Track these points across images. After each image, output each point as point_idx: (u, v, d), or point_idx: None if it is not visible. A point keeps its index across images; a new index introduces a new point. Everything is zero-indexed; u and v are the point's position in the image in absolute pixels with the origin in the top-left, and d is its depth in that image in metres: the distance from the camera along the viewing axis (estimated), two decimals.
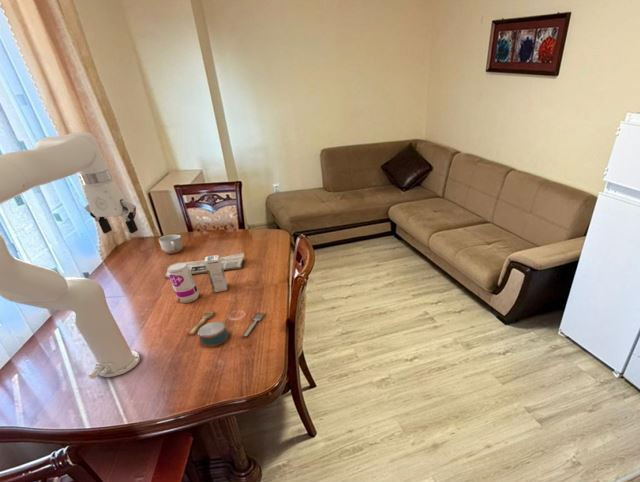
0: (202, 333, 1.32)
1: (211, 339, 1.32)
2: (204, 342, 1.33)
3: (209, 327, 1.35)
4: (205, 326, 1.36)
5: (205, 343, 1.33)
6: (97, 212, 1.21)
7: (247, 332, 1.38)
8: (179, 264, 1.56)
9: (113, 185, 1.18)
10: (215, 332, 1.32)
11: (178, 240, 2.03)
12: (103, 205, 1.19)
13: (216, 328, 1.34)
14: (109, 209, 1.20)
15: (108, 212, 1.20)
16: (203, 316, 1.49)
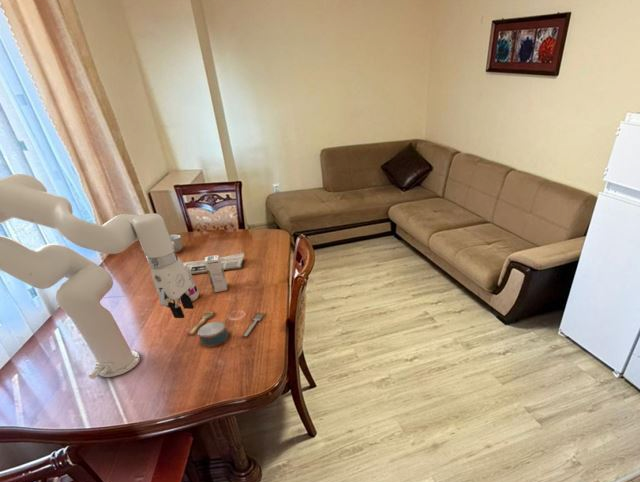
0: (202, 333, 1.32)
1: (211, 339, 1.32)
2: (204, 342, 1.33)
3: (209, 327, 1.35)
4: (205, 326, 1.36)
5: (205, 343, 1.33)
6: (178, 293, 1.12)
7: (247, 332, 1.38)
8: None
9: None
10: (215, 332, 1.32)
11: (178, 240, 2.03)
12: (181, 281, 1.14)
13: (216, 328, 1.34)
14: (186, 282, 1.16)
15: (186, 286, 1.16)
16: (203, 316, 1.49)
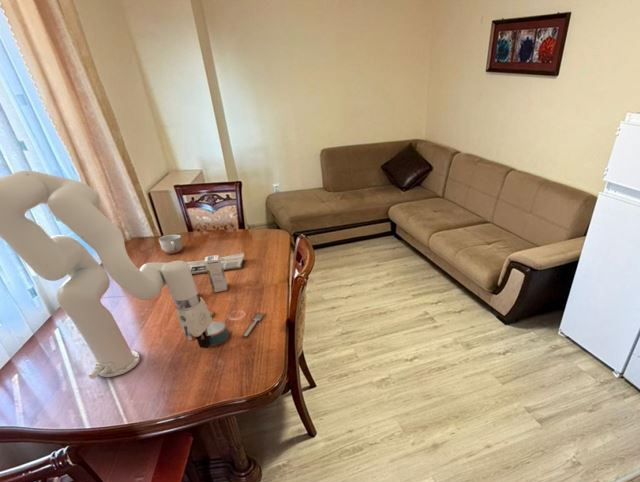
0: None
1: (211, 338, 1.32)
2: None
3: (210, 326, 1.35)
4: None
5: None
6: (200, 330, 1.24)
7: (247, 332, 1.38)
8: None
9: None
10: (216, 332, 1.32)
11: (178, 240, 2.03)
12: (204, 319, 1.25)
13: (217, 328, 1.34)
14: (207, 319, 1.27)
15: (207, 323, 1.27)
16: None
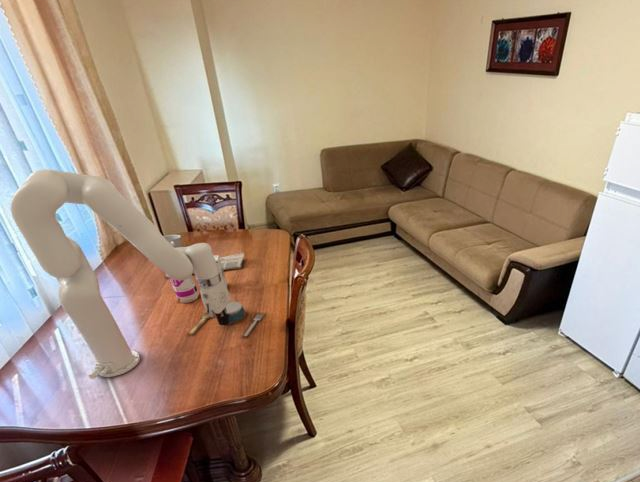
0: None
1: (230, 317, 1.43)
2: None
3: (228, 306, 1.46)
4: None
5: None
6: (221, 307, 1.35)
7: (247, 332, 1.38)
8: None
9: None
10: (233, 310, 1.44)
11: (178, 240, 2.03)
12: (223, 297, 1.36)
13: (234, 307, 1.45)
14: (226, 298, 1.38)
15: (226, 302, 1.38)
16: (203, 316, 1.49)
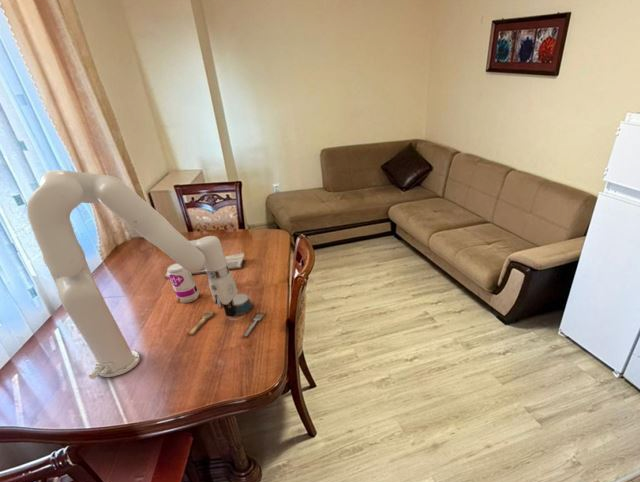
0: None
1: (237, 308, 1.48)
2: None
3: (235, 298, 1.51)
4: None
5: None
6: (228, 299, 1.39)
7: (247, 332, 1.38)
8: None
9: None
10: (240, 302, 1.48)
11: None
12: (231, 289, 1.41)
13: (241, 299, 1.50)
14: (234, 290, 1.43)
15: (234, 293, 1.43)
16: (203, 316, 1.49)
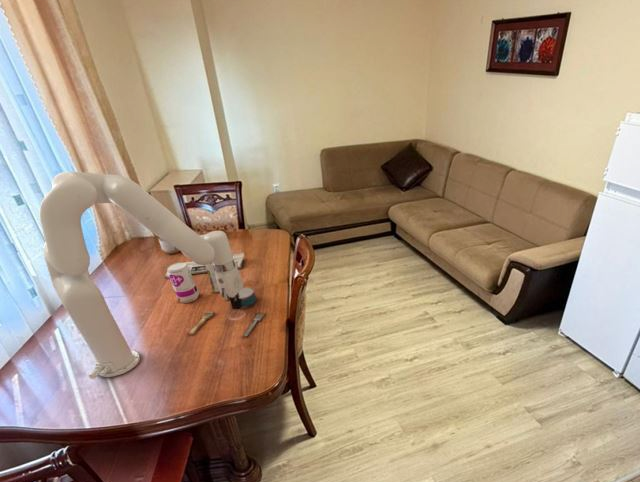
0: None
1: (242, 301, 1.52)
2: None
3: (240, 292, 1.55)
4: None
5: None
6: (235, 292, 1.44)
7: (247, 332, 1.38)
8: (179, 264, 1.56)
9: None
10: (246, 295, 1.52)
11: None
12: (237, 283, 1.45)
13: (246, 293, 1.54)
14: (240, 284, 1.47)
15: (239, 287, 1.47)
16: (203, 316, 1.49)
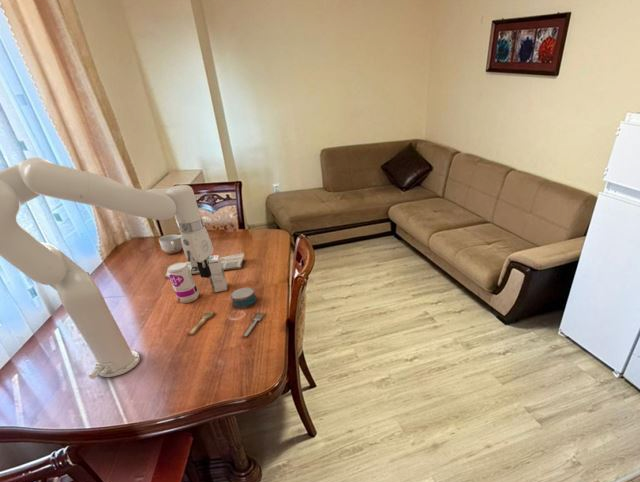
0: (234, 296, 1.52)
1: (242, 301, 1.52)
2: (236, 304, 1.53)
3: (240, 292, 1.55)
4: (237, 291, 1.56)
5: (237, 305, 1.53)
6: (202, 256, 1.28)
7: (247, 332, 1.38)
8: (179, 264, 1.56)
9: None
10: (246, 295, 1.52)
11: (178, 240, 2.03)
12: (206, 247, 1.30)
13: (246, 293, 1.54)
14: (209, 248, 1.32)
15: (209, 252, 1.32)
16: (203, 316, 1.49)
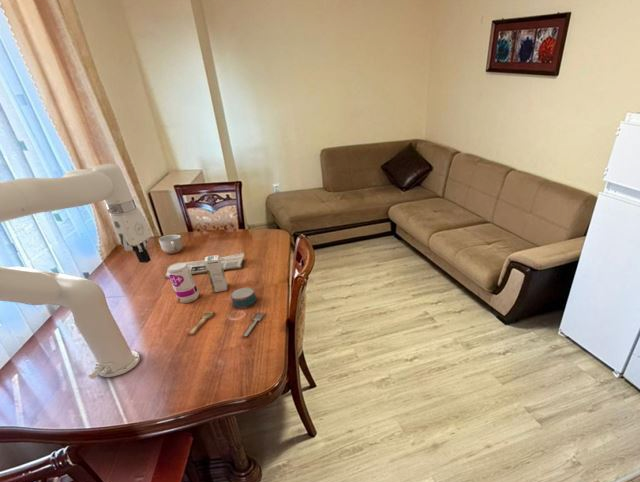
0: (234, 296, 1.52)
1: (242, 301, 1.52)
2: (236, 304, 1.53)
3: (240, 292, 1.55)
4: (237, 291, 1.56)
5: (237, 305, 1.53)
6: (137, 240, 1.22)
7: (247, 332, 1.38)
8: (179, 264, 1.56)
9: None
10: (246, 295, 1.52)
11: (178, 240, 2.03)
12: (141, 229, 1.24)
13: (246, 293, 1.54)
14: (145, 231, 1.26)
15: (145, 235, 1.26)
16: (203, 316, 1.49)
